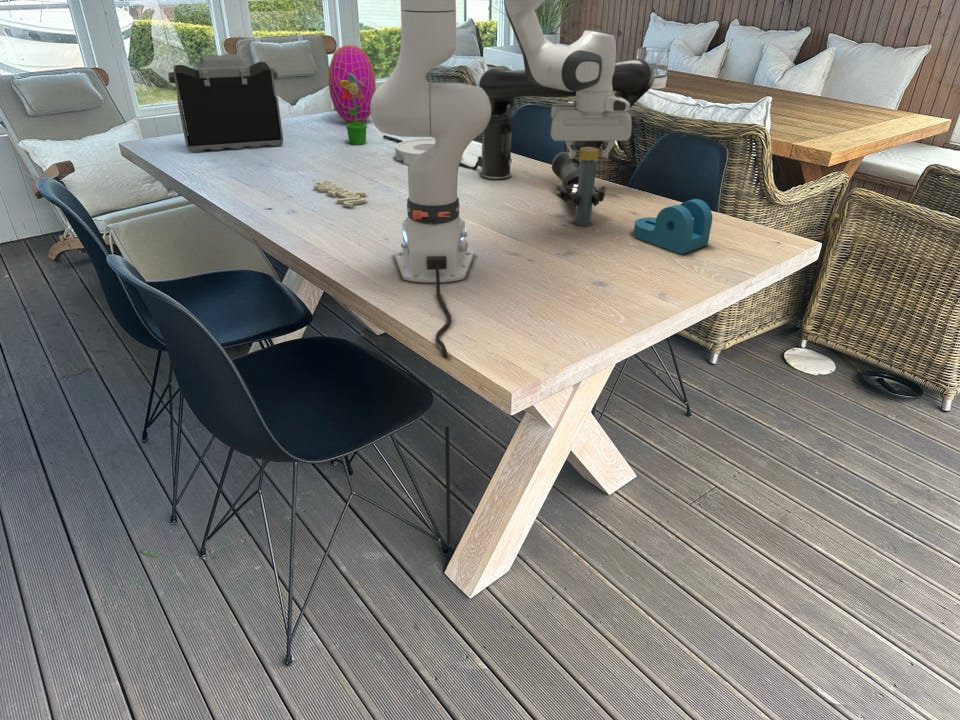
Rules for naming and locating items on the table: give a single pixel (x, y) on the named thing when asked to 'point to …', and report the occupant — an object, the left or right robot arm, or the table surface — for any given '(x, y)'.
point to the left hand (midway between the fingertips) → (588, 158)
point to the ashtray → (412, 149)
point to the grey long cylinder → (585, 192)
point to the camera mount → (677, 227)
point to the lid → (588, 153)
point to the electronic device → (227, 103)
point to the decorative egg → (340, 66)
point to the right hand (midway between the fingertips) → (586, 202)
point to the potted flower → (354, 129)
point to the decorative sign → (340, 193)
